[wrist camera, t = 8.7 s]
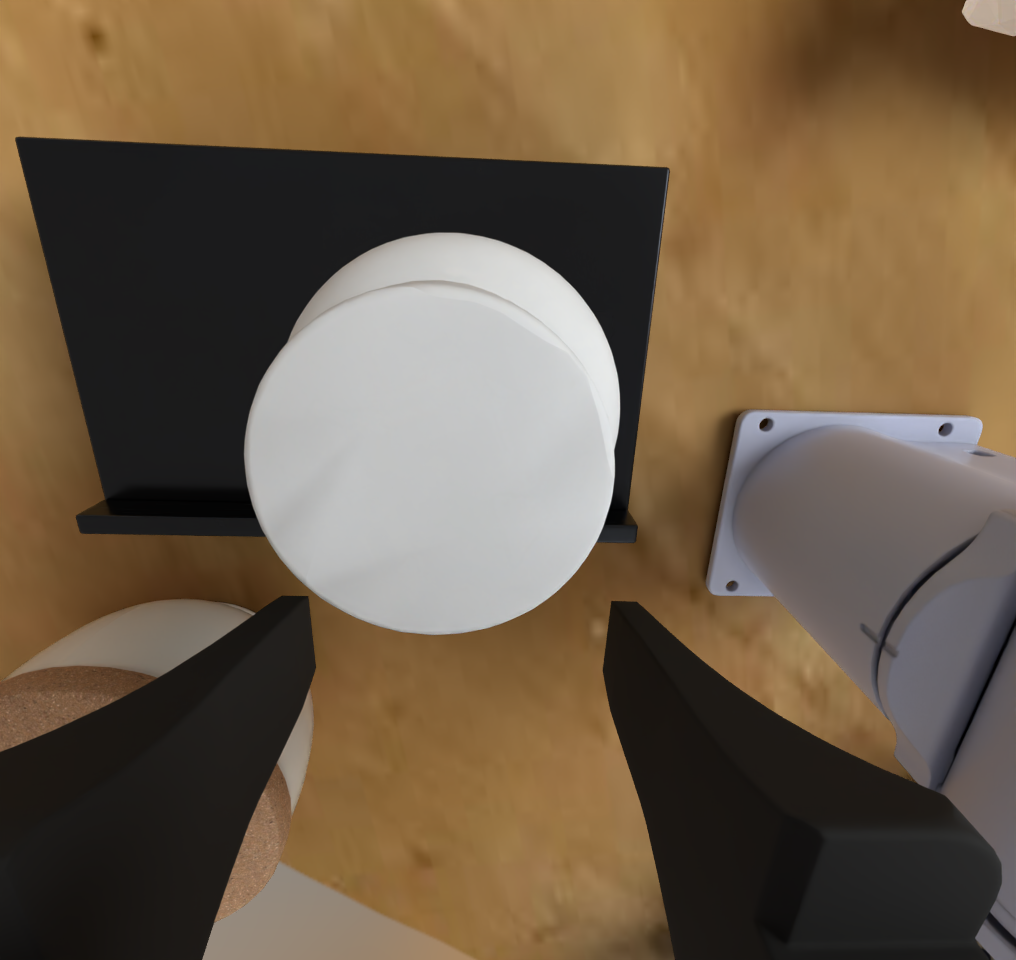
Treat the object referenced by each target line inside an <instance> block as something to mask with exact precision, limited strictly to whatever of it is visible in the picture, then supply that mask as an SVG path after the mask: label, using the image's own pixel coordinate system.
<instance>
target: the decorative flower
mask: <svg viewBox="0 0 1016 960" xmlns="http://www.w3.org/2000/svg"><path fill="white" fill-rule="evenodd" d="M962 13H963V15H964V16H965V18H966V20H967V21H968V22H969V23H970V24H971V25H973V26H977V27H980V28H984V29H988V30H991V31H995V32H999V33H1003V34H1006V35H1010V36H1016V0H966V2H965V5H964V7H963V10H962Z"/></svg>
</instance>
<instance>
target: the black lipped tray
mask: <svg viewBox="0 0 1016 960" xmlns="http://www.w3.org/2000/svg"><path fill="white" fill-rule="evenodd" d="M15 141H16V145H17V149H18V153H19V157H20V161H21V165H22V169H23V173H24V177H25V181H26V185H27V189H28V193H29V197H30V201H31V205H32V209H33V213H34V217H35V221H36V225H37V229H38V233H39V237H40V241H41V245H42V249H43V253H44V257H45V261H46V265H47V269H48V273H49V277H50V281H51V285H52V289H53V293H54V297H55V301H56V305H57V309H58V313H59V317H60V321H61V325H62V329H63V333H64V337H65V341H66V345H67V349H68V353H69V357H70V361H71V365H72V369H73V372H74V376H75V380H76V384H77V388H78V392H79V396H80V400H81V404H82V408H83V412H84V416H85V420H86V424H87V428H88V432H89V436H90V440H91V444H92V448H93V452H94V456H95V460H96V464H97V468H98V472H99V476H100V480H101V484H102V488H103V492H104V496H105V500H103V501H101V502H99V503H98V504H96V505H94V506H92V507H90V508H88V509H87V510H85V511H83V512H81V513H79V514H78V515H76V520H77V523H78V527H79V531H80V533H82V534H134V535H193V536H252V537H266V535H265V534H264V532H263V530H262V528H261V526H260V524H259V521H258V519H257V516H256V514H255V511H254V509H253V505H252V501H251V498H250V494H249V490H248V487H247V480H246V472H245V461H244V444H245V434H246V427H247V422H248V417H249V413H250V409H251V406H252V403H253V400H254V397H255V394H256V392H257V389H258V386H259V384H260V382H261V380H262V379H263V377H264V375H265V373H266V371H267V370H268V368H269V367H270V365H271V364H272V362H273V361H274V359H275V358H276V356H277V355H278V353H279V352H280V351H281V349H282V348H283V347H284V346H285V345H286V344H287V342H288V340H289V337H290V334H291V332H292V330H293V328H294V326H295V324H296V321H297V320H298V318H299V317H300V315H301V313H302V312H303V310H304V309H305V307H306V306H307V304H308V303H309V302H310V300H311V299H312V297H313V296H314V295H315V294H316V292H317V291H318V290H319V289H320V288H321V287H322V286H323V285H324V284H325V283H326V282H327V281H328V280H329V279H330V278H331V277H332V276H333V275H334V274H335V273H336V272H338V271H339V270H340V269H341V268H342V267H344V266H345V265H347V264H348V263H350V262H351V261H352V260H354V259H355V258H357V257H359V256H360V255H362V254H364V253H366V252H367V251H369V250H371V249H373V248H376V247H378V246H380V245H383V244H385V243H388V242H391V241H394V240H397V239H401V238H404V237H410V236H415V235H421V234H428V233H464V234H470V235H476V236H482V237H486V238H490V239H494V240H498V241H501V242H504V243H506V244H509V245H511V246H514V247H516V248H518V249H521V250H523V251H525V252H527V253H529V254H531V255H532V256H534V257H536V258H537V259H539V260H541V261H542V262H544V263H545V264H546V265H548V266H549V267H550V268H552V269H553V270H554V271H556V272H557V273H558V274H560V275H561V276H562V277H563V278H564V279H565V280H566V281H567V282H568V283H569V284H570V285H571V286H572V287H573V288H574V289H575V290H576V291H577V292H578V293H579V295H580V296H581V297H582V299H583V300H584V301H585V303H586V304H587V305H588V306H589V308H590V309H591V311H592V312H593V314H594V315H595V317H596V319H597V320H598V322H599V324H600V326H601V328H602V330H603V332H604V334H605V336H606V339H607V341H608V344H609V346H610V349H611V352H612V355H613V359H614V363H615V367H616V371H617V375H618V383H619V392H620V420H619V429H618V435H617V440H616V444H615V448H614V457H615V478H614V487H613V494H612V499H611V503H610V507H609V510H608V513H607V516H606V519H605V523H604V526H603V528H602V530H601V533H600V535H599V537H598V539H597V541H596V542H604V543H635V542H636V537H637V529H638V526H637V524H636V522H635V521H634V519H633V518H632V516H631V514H630V513H629V511H628V504H629V496H630V488H631V480H632V472H633V464H634V455H635V447H636V439H637V431H638V423H639V415H640V407H641V399H642V391H643V383H644V375H645V367H646V359H647V351H648V343H649V335H650V327H651V318H652V310H653V302H654V294H655V286H656V278H657V270H658V262H659V254H660V246H661V238H662V230H663V222H664V214H665V206H666V198H667V190H668V181H669V173H670V170H669V168H667V167H650V166H629V165H607V164H586V163H565V162H544V161H523V160H502V159H481V158H460V157H438V156H417V155H396V154H375V153H354V152H333V151H312V150H291V149H270V148H248V147H227V146H206V145H185V144H164V143H143V142H122V141H101V140H79V139H58V138H37V137H16V138H15Z"/></svg>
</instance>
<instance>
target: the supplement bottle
mask: <svg viewBox="0 0 1016 960" xmlns="http://www.w3.org/2000/svg"><path fill="white" fill-rule="evenodd" d="M619 420H620V392H619V383H618V375H617V371H616V367H615V363H614V359H613V355H612V352H611V349H610V346H609V344H608V341H607V339H606V336H605V334H604V332H603V330H602V328H601V326H600V324H599V322H598V320H597V319H596V317H595V315H594V314H593V312H592V311H591V309H590V308H589V306H588V305H587V304H586V303H585V301H584V300H583V299H582V297H581V296H580V295H579V293H578V292H577V291H576V290H575V289H574V288H573V287H572V286H571V285H570V284H569V283H568V282H567V281H566V280H565V279H564V278H563V277H562V276H561V275H560V274H558V273H557V272H556V271H554V270H553V269H552V268H550V267H549V266H548V265H546V264H545V263H544V262H542V261H541V260H539V259H537V258H536V257H534V256H532V255H531V254H529V253H527V252H525V251H523V250H521V249H518V248H516V247H514V246H511V245H509V244H506V243H504V242H501V241H498V240H494V239H490V238H486V237H482V236H476V235H470V234H464V233H428V234H421V235H415V236H410V237H404V238H401V239H397V240H394V241H391V242H388V243H385V244H383V245H380V246H378V247H376V248H373V249H371V250H369V251H367V252H366V253H364V254H362V255H360V256H359V257H357V258H355V259H354V260H352V261H351V262H350V263H348V264H347V265H345V266H344V267H342V268H341V269H340V270H339V271H338V272H336V273H335V274H334V275H333V276H332V277H331V278H330V279H329V280H328V281H327V282H326V283H325V284H324V285H323V286H322V287H321V288H320V289H319V290H318V291H317V292H316V294H315V295H314V296H313V297H312V299H311V300H310V302H309V303H308V304H307V306H306V307H305V309H304V310H303V312H302V313H301V315H300V317H299V318H298V320H297V321H296V324H295V326H294V328H293V330H292V332H291V334H290V337H289V340H288V342H287V344H286V345H285V346H284V347H283V348H282V349H281V351H280V352H279V353H278V355H277V356H276V358H275V359H274V361H273V362H272V364H271V365H270V367H269V368H268V370H267V371H266V373H265V375H264V377H263V379H262V380H261V382H260V384H259V386H258V389H257V392H256V394H255V397H254V400H253V403H252V406H251V409H250V413H249V417H248V422H247V427H246V434H245V444H244V461H245V472H246V480H247V487H248V490H249V494H250V498H251V501H252V505H253V509H254V511H255V514H256V516H257V519H258V521H259V524H260V526H261V528H262V530H263V532H264V534H265V535H266V537H267V539H268V541H269V542H270V544H271V546H272V547H273V549H274V550H275V552H276V553H277V555H278V556H279V558H280V559H281V560H282V561H283V563H284V564H285V565H286V566H287V567H288V568H289V570H290V571H291V572H292V573H293V574H294V575H295V576H296V577H297V578H298V579H299V580H300V581H301V582H302V583H303V584H304V585H305V586H307V587H308V588H309V589H310V590H312V591H313V592H314V593H315V594H317V595H318V596H319V597H320V598H321V599H323V600H325V601H326V602H328V603H330V604H331V605H333V606H335V607H336V608H338V609H340V610H342V611H343V612H345V613H347V614H349V615H351V616H353V617H355V618H358V619H360V620H363V621H365V622H368V623H371V624H373V625H377V626H380V627H383V628H387V629H391V630H395V631H399V632H406V633H418V634H427V635H442V634H457V633H465V632H470V631H475V630H481V629H486V628H490V627H493V626H496V625H499V624H502V623H504V622H507V621H509V620H511V619H514V618H516V617H518V616H520V615H522V614H524V613H526V612H528V611H530V610H532V609H534V608H535V607H537V606H538V605H539V604H541V603H542V602H544V601H545V600H547V599H548V598H549V597H551V596H552V595H553V594H554V593H556V592H557V591H558V590H559V589H560V588H561V587H562V586H563V585H564V584H565V583H566V582H567V581H568V580H569V579H570V578H571V577H572V576H573V575H574V574H575V573H576V571H577V570H578V569H579V567H580V566H581V565H582V563H583V562H584V561H585V559H586V558H587V556H588V555H589V553H590V551H591V550H592V548H593V546H594V545H595V543H596V541H597V539H598V537H599V535H600V533H601V530H602V528H603V526H604V523H605V519H606V516H607V513H608V510H609V507H610V503H611V499H612V494H613V487H614V478H615V457H614V448H615V444H616V440H617V435H618V429H619Z"/></svg>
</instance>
